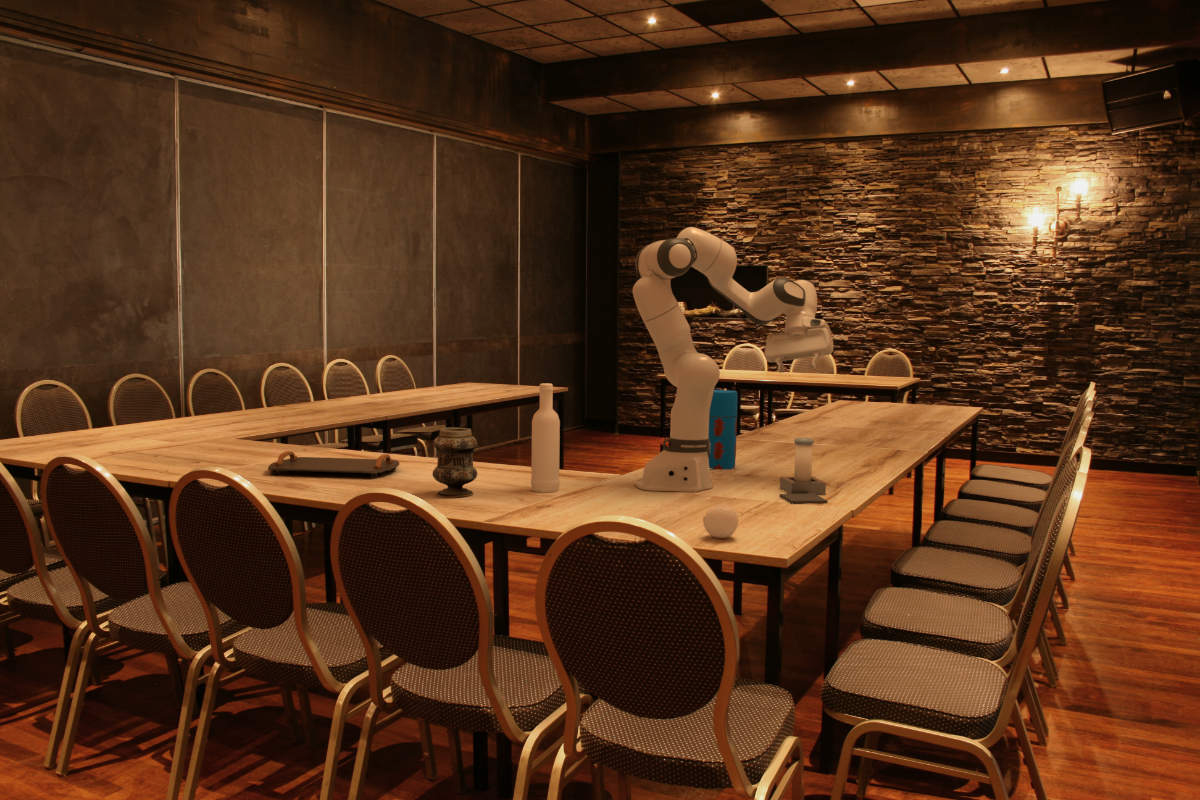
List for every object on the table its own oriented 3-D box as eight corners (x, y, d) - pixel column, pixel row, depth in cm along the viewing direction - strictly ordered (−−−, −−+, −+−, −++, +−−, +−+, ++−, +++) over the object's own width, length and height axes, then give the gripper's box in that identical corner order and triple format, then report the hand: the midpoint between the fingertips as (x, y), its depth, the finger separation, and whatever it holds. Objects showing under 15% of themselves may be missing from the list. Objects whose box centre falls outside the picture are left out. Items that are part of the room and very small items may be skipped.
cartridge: (796, 493, 274) (798, 440, 273) (790, 490, 280) (791, 437, 278) (814, 493, 275) (816, 440, 274) (808, 489, 280) (810, 437, 279)
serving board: (257, 477, 289) (257, 456, 289) (290, 465, 312) (289, 446, 312) (384, 481, 286) (384, 460, 285) (407, 469, 308) (407, 449, 308)
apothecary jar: (484, 491, 269) (484, 427, 268) (466, 499, 258) (466, 432, 256) (444, 489, 273) (444, 425, 271) (425, 496, 261) (424, 430, 260)
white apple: (727, 533, 224) (728, 499, 223) (744, 540, 217) (746, 506, 216) (696, 535, 221) (697, 502, 220) (713, 543, 214) (714, 508, 213)
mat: (791, 503, 259) (791, 500, 259) (779, 496, 269) (779, 493, 269) (827, 503, 261) (827, 500, 261) (814, 496, 271) (814, 493, 271)
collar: (791, 495, 272) (791, 482, 271) (779, 488, 282) (780, 476, 281) (825, 494, 273) (825, 482, 273) (813, 488, 283) (813, 476, 283)
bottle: (555, 493, 269) (556, 385, 266) (527, 491, 270) (528, 384, 268) (562, 488, 277) (563, 383, 274) (535, 486, 278) (536, 382, 276)
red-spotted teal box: (734, 470, 313) (736, 393, 310) (700, 469, 315) (702, 392, 313) (736, 465, 323) (738, 390, 321) (704, 463, 325) (706, 389, 323)
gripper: (763, 329, 293) (759, 368, 287) (829, 319, 283) (826, 359, 277) (770, 340, 298) (767, 379, 292) (836, 331, 288) (833, 370, 281)
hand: (796, 369), depth 284 cm, fingers open, 8 cm apart
